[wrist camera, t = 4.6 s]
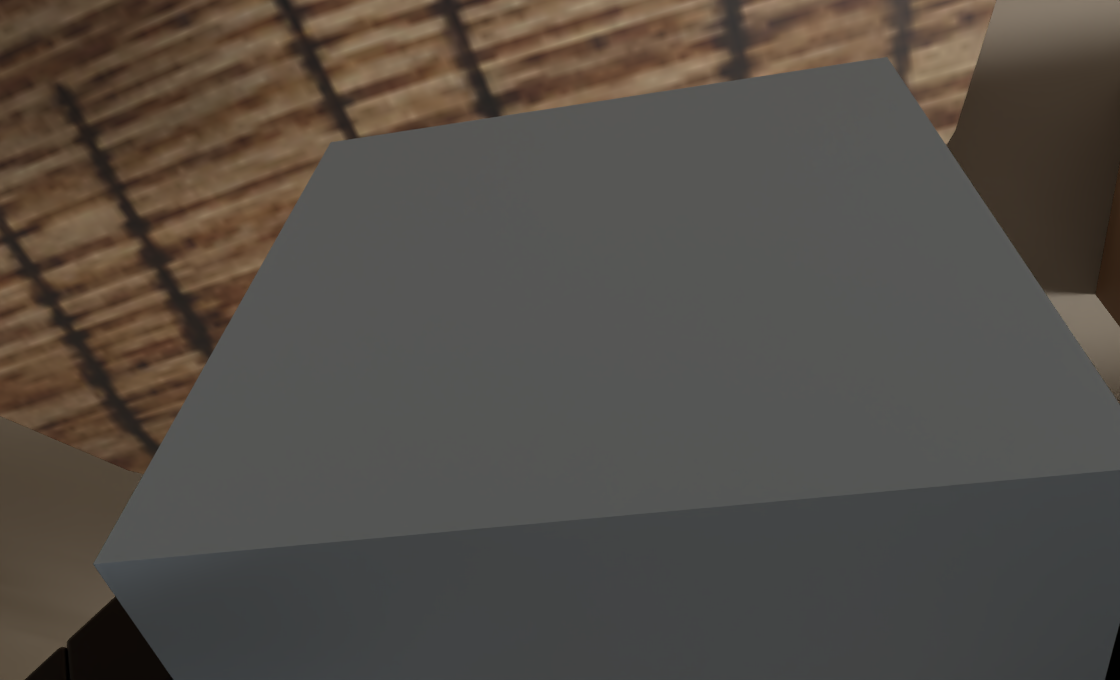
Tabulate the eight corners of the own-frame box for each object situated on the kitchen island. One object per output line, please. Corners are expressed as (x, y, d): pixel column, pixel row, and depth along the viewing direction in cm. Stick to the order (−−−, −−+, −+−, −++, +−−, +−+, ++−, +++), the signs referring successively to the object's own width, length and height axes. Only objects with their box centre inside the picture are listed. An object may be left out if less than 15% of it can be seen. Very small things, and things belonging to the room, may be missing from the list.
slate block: (877, 476, 11) (1031, 957, 7) (458, 515, 12) (378, 973, 8) (888, 57, 8) (1159, 466, 4) (330, 141, 9) (93, 563, 5)
